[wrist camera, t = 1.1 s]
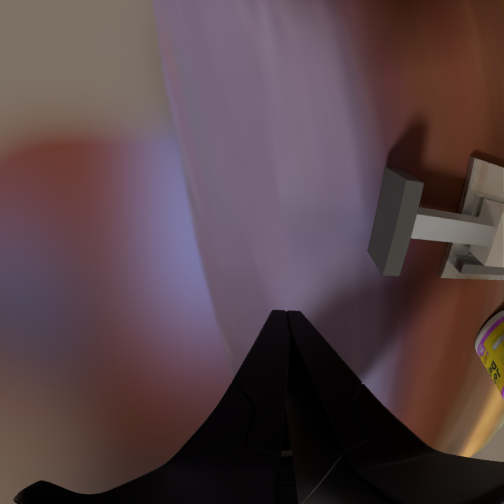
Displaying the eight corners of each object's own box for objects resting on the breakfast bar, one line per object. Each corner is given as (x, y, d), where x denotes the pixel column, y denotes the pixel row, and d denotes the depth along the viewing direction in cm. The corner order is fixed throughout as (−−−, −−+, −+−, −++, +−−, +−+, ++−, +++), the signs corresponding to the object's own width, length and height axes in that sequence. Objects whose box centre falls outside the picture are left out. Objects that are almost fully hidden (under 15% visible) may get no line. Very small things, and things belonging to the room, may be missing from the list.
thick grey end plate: (494, 261, 20) (514, 280, 18) (367, 251, 20) (382, 275, 18) (519, 176, 17) (544, 189, 14) (389, 139, 17) (411, 147, 14)
